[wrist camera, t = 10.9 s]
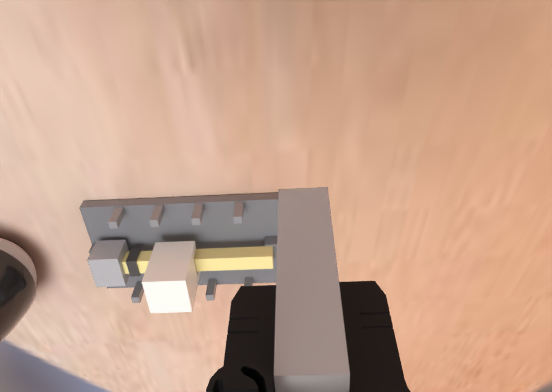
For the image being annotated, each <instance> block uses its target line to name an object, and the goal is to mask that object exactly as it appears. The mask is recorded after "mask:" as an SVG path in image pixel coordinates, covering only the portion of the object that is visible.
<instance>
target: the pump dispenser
mask: <svg viewBox="0 0 552 392" xmlns="http://www.w3.org/2000/svg"><path fill="white" fill-rule="evenodd" d="M36 282H37V275H36V269H35V266H34V264H33V262H32V260H31V258H30V257H29V255H28V254H27V253H26V252H25V251H24V250H23V249H22V248H20V247H19V246H18V245H16V244H14V243H12V242H10V241H8V240H5V239H2V238H0V342H1V341H2V340H3V339H4V338H5V337H6V336H7V335H8V334H9V333H10V332H11V331H12V330H13V329H14V328H15V326H16V325H17V324H18V323H19V322H20V320H21V319H22V318H23V317H24V315H25V314H26V313H27V311H28V310H29V308H30V307H31V305H32V303H33V302H34V299H35V297H36Z"/></svg>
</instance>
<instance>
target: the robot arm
mask: <svg viewBox="0 0 552 392" xmlns="http://www.w3.org/2000/svg"><path fill="white" fill-rule="evenodd" d="M229 318H230V321H229V325H228V335H227V341H226V349H225V357H224V366H223V367H222V368H220V369H218V371H217V372H216V373H215V374H214V375H213V376H212V377H211V379H210V381H209V384H208V386H207V389H206V392H410V390H409V389H408V387H407V385H406V382H405V379H404V375H403V370H402V366H401V361H400V357H399V352H398V348H397V343H396V339H395V334H394V330H393V325H392V321H391V316H390V312H389V307H388V303H387V298H386V295H385V294H384V292H383V291H382V290H381V288H380V287H379V286H378V285H377V283H376V282H375V281H357V282H339V278H338V270H337V262H336V253H335V245H334V236H333V228H332V220H331V211H330V203H329V195H328V187H321V188H297V189H279V196H278V234H277V272H276V285H267V286H241V287H240V289H239V290H238V292H237V293H236V295H235V297H234V298H233V300H232V301H231V309H230V317H229Z"/></svg>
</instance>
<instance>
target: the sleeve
mask: <svg viewBox="0 0 552 392" xmlns="http://www.w3.org/2000/svg"><path fill="white" fill-rule="evenodd" d="M195 250H196V244H195V241H179V242H155V245H154V248H153V251H152V254H151V257H150V259H149V262H148V265H147V268H146V271H145V274H144V277H143V280H142V285H143V289H144V292H145V296H146V299H147V303H148V306H149V310H150V313H170V312H192V310H193V306H194V301H195V296H196V291H197V286H198V282H199V277H200V272H201V271H196V268H195V263H194V254H195Z"/></svg>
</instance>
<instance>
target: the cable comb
mask: <svg viewBox="0 0 552 392" xmlns="http://www.w3.org/2000/svg"><path fill="white" fill-rule="evenodd" d="M278 196H279V193H257V194H234V195H210V196H187V197H164V198H140V199H117V200H94V201H83V203H82V205H81V206H80V210H81V213H82V216H83V219H84V222H85V225H86V228H87V231H88V234H89V237H90V240H91V243H92V247H91V249H90V251H89V253H90V255H89V257H88V259H87V261H88V264H89V267H90V270H91V272H92V275H93V278H94V281H95V284H96V286H97V287H107V288H128V287H135V288H134V291H133V294H132V297H131V299H132V302H133V303H140V302H141V299H142V296H143V293H144V289H143V285H142V280H143V277H144V274H145V271H146V268H147V265H148V262H149V259H150V257H151V254H152V251H153V248H154V245H155V242H179V241H195V244H196V250H195V254H194V263H195V268H196V271H201V272H200V277H199V282H198V285H207V291H206V299H207V300H214V298H215V292H216V286H217V284H243V283H244V286H253V283H272V282H276V272H277V234H278Z"/></svg>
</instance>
